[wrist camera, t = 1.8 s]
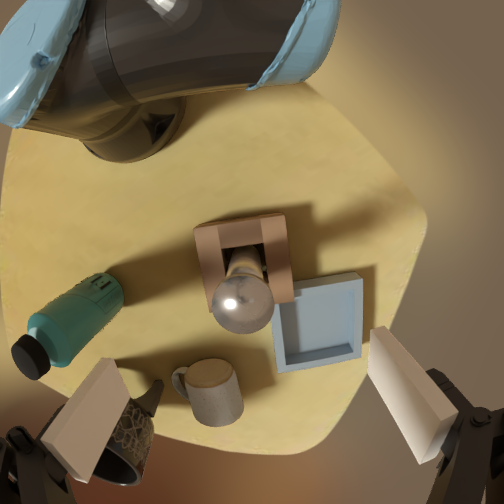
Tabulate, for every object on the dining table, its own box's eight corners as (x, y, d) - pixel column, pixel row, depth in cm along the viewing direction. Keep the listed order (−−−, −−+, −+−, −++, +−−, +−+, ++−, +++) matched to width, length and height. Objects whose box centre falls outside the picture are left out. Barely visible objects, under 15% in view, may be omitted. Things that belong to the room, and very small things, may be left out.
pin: (224, 242, 34) (205, 281, 19) (261, 237, 34) (270, 272, 19) (230, 277, 35) (218, 337, 20) (266, 272, 35) (277, 329, 20)
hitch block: (199, 224, 34) (193, 228, 30) (280, 212, 33) (284, 215, 29) (213, 299, 36) (209, 312, 32) (289, 289, 35) (294, 301, 31)
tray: (265, 285, 35) (267, 294, 32) (354, 271, 35) (362, 278, 32) (276, 361, 38) (277, 373, 35) (354, 346, 38) (361, 357, 35)
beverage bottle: (128, 270, 35) (36, 341, 15) (131, 314, 36) (57, 402, 17) (90, 265, 35) (-7, 322, 15) (94, 307, 36) (13, 380, 16)
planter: (152, 350, 37) (106, 434, 20) (181, 409, 40) (158, 492, 23) (89, 354, 38) (35, 419, 21) (120, 409, 41) (86, 477, 23)
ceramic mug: (235, 352, 37) (231, 386, 30) (245, 393, 39) (243, 427, 32) (166, 357, 38) (151, 388, 30) (181, 396, 40) (171, 428, 32)
